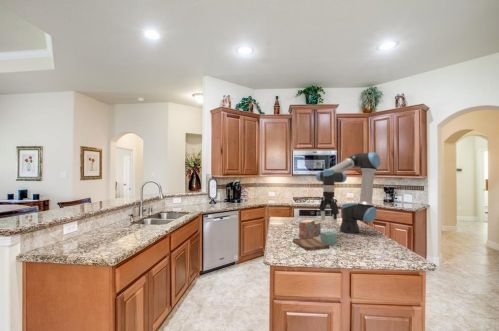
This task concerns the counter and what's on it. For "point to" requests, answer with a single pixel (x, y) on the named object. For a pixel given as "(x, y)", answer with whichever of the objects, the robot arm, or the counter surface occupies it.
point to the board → (310, 243)
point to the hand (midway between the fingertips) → (328, 222)
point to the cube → (328, 238)
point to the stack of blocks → (309, 228)
